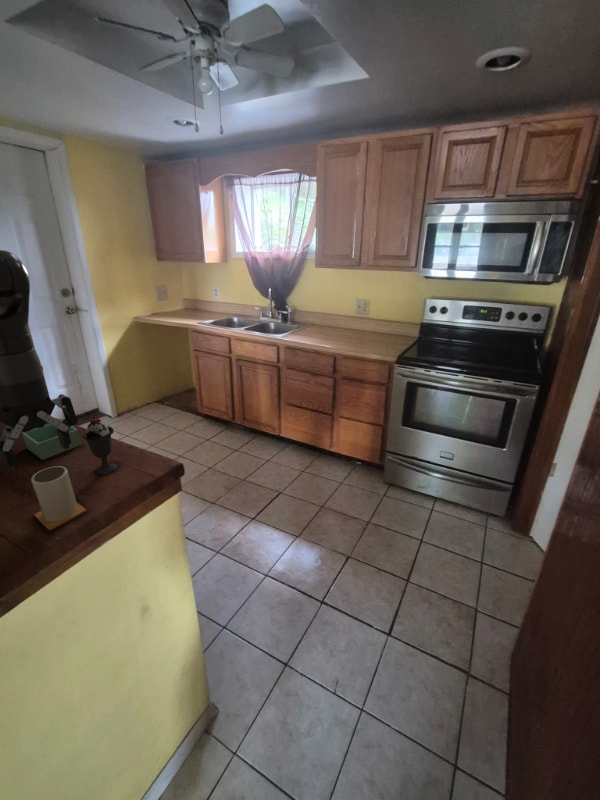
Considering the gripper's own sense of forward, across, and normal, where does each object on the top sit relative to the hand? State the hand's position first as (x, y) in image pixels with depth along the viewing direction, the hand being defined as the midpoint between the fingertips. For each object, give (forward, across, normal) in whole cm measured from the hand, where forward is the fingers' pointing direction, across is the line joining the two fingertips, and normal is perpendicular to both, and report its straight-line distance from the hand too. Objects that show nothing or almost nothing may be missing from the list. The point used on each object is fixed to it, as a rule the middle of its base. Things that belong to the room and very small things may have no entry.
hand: (41, 456), depth 70 cm
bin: (+14, -11, -29) cm, 34 cm away
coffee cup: (+13, -1, 0) cm, 13 cm away
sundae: (+14, -14, -8) cm, 22 cm away
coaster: (+14, 0, 0) cm, 14 cm away
